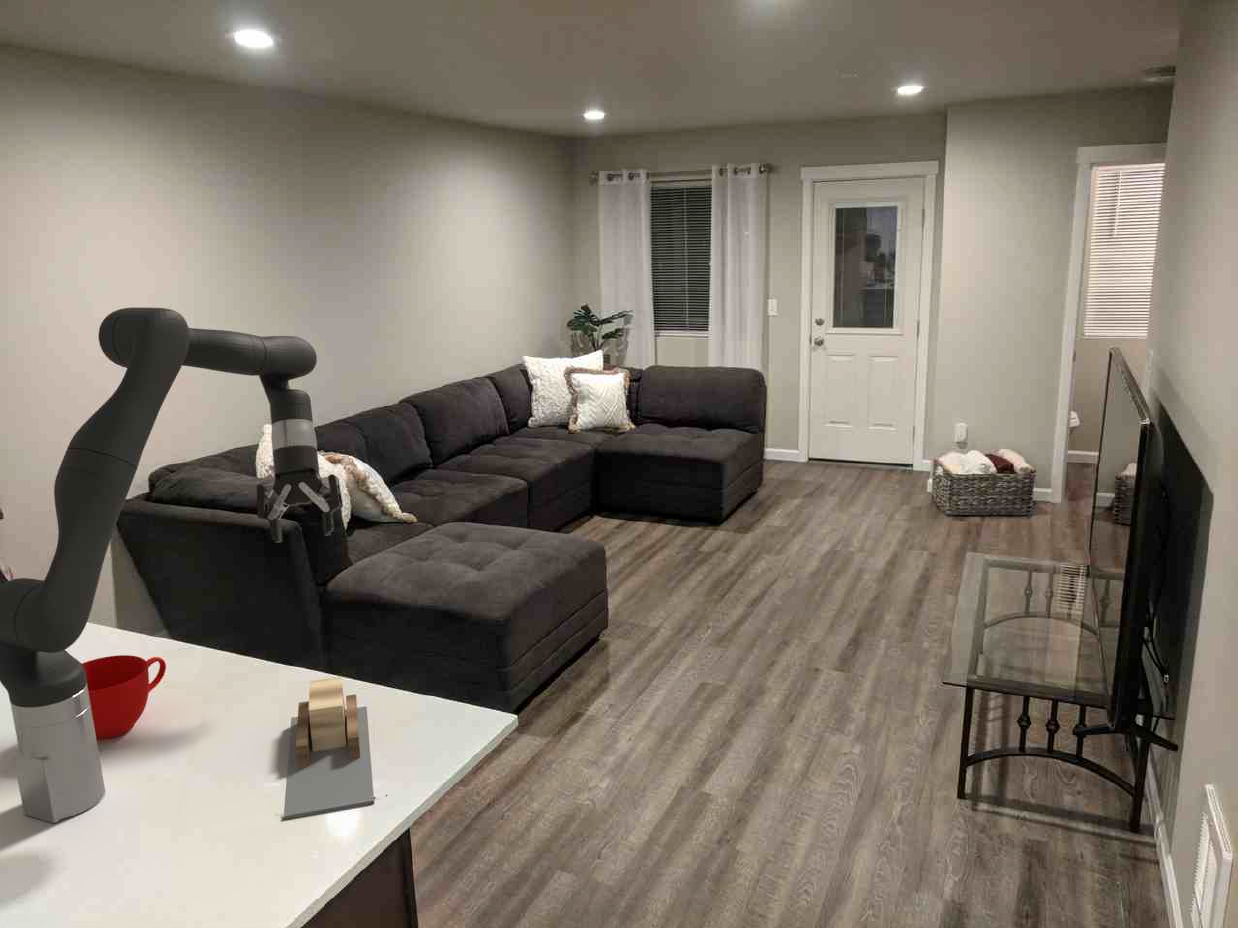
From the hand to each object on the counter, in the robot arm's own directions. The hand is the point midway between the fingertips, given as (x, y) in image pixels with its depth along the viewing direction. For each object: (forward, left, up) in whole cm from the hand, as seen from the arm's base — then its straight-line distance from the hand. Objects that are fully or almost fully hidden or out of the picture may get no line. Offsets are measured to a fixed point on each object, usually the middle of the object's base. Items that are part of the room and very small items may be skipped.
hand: (303, 538), depth 164 cm
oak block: (-16, -16, -26) cm, 34 cm away
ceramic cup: (-25, +19, -26) cm, 41 cm away
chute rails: (-18, -17, -26) cm, 36 cm away
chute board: (-22, -20, -26) cm, 40 cm away
